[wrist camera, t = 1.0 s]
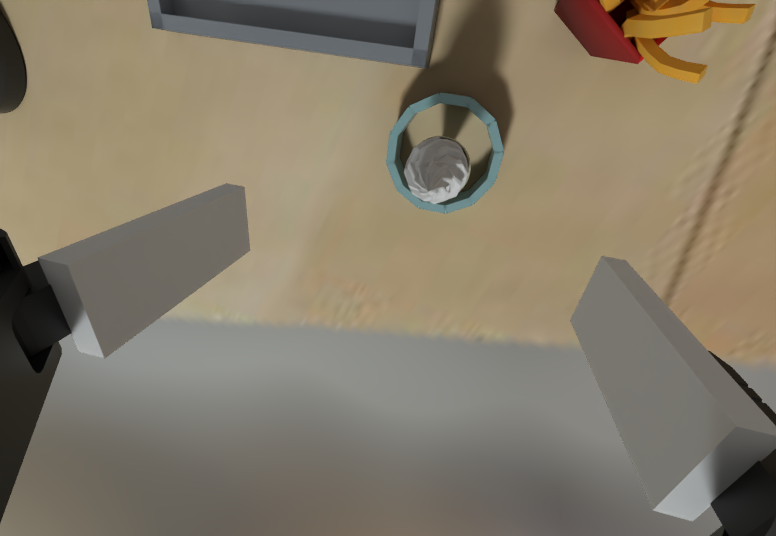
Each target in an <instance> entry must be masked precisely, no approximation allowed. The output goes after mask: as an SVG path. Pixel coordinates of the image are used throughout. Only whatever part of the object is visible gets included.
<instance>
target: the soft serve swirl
mask: <svg viewBox="0 0 776 536" xmlns="http://www.w3.org/2000/svg"><path fill="white" fill-rule="evenodd" d="M470 170H471V163H470V158H469V155H468V153H467V151H466V150H465V148H464V147H463V146H462V145H461V144H460V143H459V142H458V141H456V140H454V139H452V138H450V137H446V136H434V137H431V138H428V139H426V140H424V141H423V142H421V143H420V144H419V145H417V146H415V147H414V149H413V150H412V152H411V154H410V156H409V158H408V160H407V162H406V166H405V169H404V174H405V177H406V179H407V182H408V186H409V188H410V190H411V192H412V194H413V195H415V196H416V197H418V198H420V199H421V200H423V201H426V202H427V201H428V202H430V203H432V204H436V203H440V202H443V201H446V200H448V199H451V198H453V197H456V196H457V195H458V192H459V191H460V190H461V189H462V188H463V187H464V186H465V184H466V183H467V181H468V178H469V175H470Z"/></svg>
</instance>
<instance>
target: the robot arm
mask: <svg viewBox="0 0 776 536" xmlns="http://www.w3.org/2000/svg"><path fill="white" fill-rule="evenodd" d="M25 88H26V76H25V69H24V64H23V60H22V56H21V53H20V50H19V47H18V45H17V42H16V40H15V38H14V36H13V34H12V32H11V30H10V28H9V26H8V24H7V22H6V21H5V19H4V17H3V16H2V14H1V13H0V113H8V112H11V111H13V110H14V109H16V108H17V107H18V106H19V105H20V103H21V102H22V100H23V97H24V94H25ZM249 251H250V244H249V233H248V221H247V210H246V199H245V188H244V187H242V186H237V185H232V184H227V183H226V184H224V185H221V186H218V187H216V188H213V189H211V190H208V191H206V192H203V193H201V194H198V195H196V196H193V197H191V198H188V199H185V200H183V201H180V202H178V203H175V204H173V205H170V206H168V207H165V208H163V209H160V210H158V211H155V212H152V213H150V214H147V215H145V216H142V217H140V218H137V219H135V220H132V221H130V222H127V223H125V224H122V225H119V226H117V227H114V228H112V229H109V230H107V231H104V232H102V233H99V234H97V235H94V236H92V237H89V238H86V239H84V240H81V241H79V242H76V243H74V244H71V245H69V246H66V247H64V248H61V249H59V250H56V251H53V252H51V253H48V254H46V255H43V256H41V257H38V261H36V262H33V263H31V264H28V265H26V266H22V264H21V262H20V259H19V257H18V255H17V253H16V251H15V249H14V247H13V245H12V243H11V240H10V238H9V236H8V234H7V232H5V231H4V230H2V229H0V522H1V519H2V517H3V514H4V511H5V508H6V506H7V503H8V500H9V498H10V495H11V492H12V489H13V486H14V484H15V481H16V478H17V475H18V473H19V470H20V467H21V465H22V462H23V459H24V456H25V454H26V451H27V448H28V445H29V443H30V439H31V437H32V434H33V432H34V429H35V426H36V423H37V420H38V418H39V415H40V412H41V410H42V407H43V404H44V401H45V399H46V396H47V393H48V390H49V387H50V385H51V382H52V379H53V377H54V374H55V371H56V368H57V365H58V363H59V360H60V357H61V354H62V350H61V349H62V348H61V346H60V344H59V342H58V341H59V340H61V339H62V338H64V337H66V336H67V335H69V334H71V335H72V337H73V339H74V342H75V344H76V346H77V348H78V351H79V352H83V353H86V354H90V355H93V356H97V357H101V358H106V357H107V356H109V355H110V354H111V353H113V352H114V351H115V350H117V349H118V348H119V347H121V346H122V345H124V344H125V343H126V342H128V341H129V340H130V339H132V338H133V337H134V336H136V335H137V334H138V333H140V332H141V331H142V330H144V329H145V328H146V327H148V326H149V325H150V324H152V323H153V322H154V321H156V320H157V319H159V318H160V317H161V316H163V315H164V314H165V313H167V312H168V311H169V310H171V309H172V308H173V307H175V306H176V305H177V304H179V303H180V302H181V301H183V300H184V299H185V298H187V297H188V296H189V295H191V294H192V293H194V292H195V291H196V290H198V289H199V288H200V287H202V286H203V285H204V284H206V283H207V282H208V281H210V280H211V279H212V278H214V277H215V276H216V275H218V274H219V273H220V272H222V271H223V270H224V269H226V268H227V267H229V266H230V265H231V264H233V263H234V262H235V261H237V260H238V259H239V258H241V257H242V256H243V255H245V254H246V253H247V252H249ZM570 321H571V323H572V325H573V328H574V330H575V332H576V335H577V337H578V339H579V342H580V344H581V346H582V348H583V351H584V353H585V355H586V358H587V360H588V362H589V365H590V367H591V369H592V371H593V374H594V376H595V378H596V381H597V383H598V385H599V388H600V390H601V392H602V394H603V397H604V399H605V401H606V404H607V406H608V408H609V411H610V413H611V415H612V418H613V420H614V422H615V424H616V427H617V429H618V431H619V434H620V436H621V438H622V441H623V443H624V445H625V448H626V450H627V452H628V454H629V457H630V459H631V461H632V464H633V466H634V468H635V471H636V473H637V475H638V477H639V480H640V482H641V484H642V486H643V489H644V491H645V494H646V496H647V498H648V500H649V503H650V505H651V507H652V509H653V510H654V511H657V512H661V513H664V514H668V515H672V516H675V517H679V518H683V519H686V520H690V521H694V520H695V519H696V518H697V517H698V516H699V515H700V514H702V513H703V512H704V511H705V510H706V509H707V508H708V507H710V506H712V508H713V509H714V511H715V513H716V514H717V516H718V518H719V520H720V521H721V523H722V526H721V527H720V528H719V529H717V530H716V531H715V532H714V533H712V534H711V535H710V536H776V414H775V413H774V412H773V411H772V409H770V407H769V406H768V405H767V404H766V403H762V399H761V398H760V397H759V396H758V395H757V394H756V393H755V391H754V390H753V389H752V388H748V384H747V383H746V382H745V381H744V380H743V379H742V378H741V376H740V375H739V374H738V373H737V372H736V371H735V370H734V369H733V368H732V367H731V366H729V365H728V364H727V363H725V362H724V361H722V360H721V359H720V358H718V357H717V356H716V355H714V354H713V353H712V352H710V351H707V350H706V348H705V347H704V346H703V345H702V344H701V343H700V342H699V341H698V340H697V338H696V337H695V336H694V335H693V334H692V333H691V332H690V331H689V330H688V329H687V327H686V326H685V325H684V324H683V323H682V322H681V321H680V320H679V319H678V318H677V316H676V315H675V314H674V313H673V312H672V311H671V310H670V309H669V308H668V306H667V305H666V304H665V303H664V302H663V301H662V300H661V299H660V298H659V297H658V295H657V294H656V293H655V292H654V291H653V290H652V289H651V288H650V287H649V286H648V284H647V283H646V282H645V281H644V280H643V279H642V278H641V277H640V276H639V274H638V273H637V272H636V271H635V270H634V269H633V268H632V267H631V266H630V265H629V263H628V262H627V261H626V260H621V259H616V258H610V257H605V256H601V259H600V261H599V263H598V265H597V267H596V269H595V271H594V273H593V275H592V277H591V279H590V281H589V283H588V285H587V287H586V289H585V291H584V293H583V295H582V297H581V299H580V301H579V303H578V305H577V307H576V309H575V311H574V314H573V316H572V318H571V320H570Z"/></svg>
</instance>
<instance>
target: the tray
mask: <svg viewBox="0 0 776 536" xmlns="http://www.w3.org/2000/svg"><path fill="white" fill-rule="evenodd" d="M147 1H148V7H149V13H150V18H151V24H152V28H156V29H161V30H167V31H172V32H178V33H185V34H192V35H199V36H205V37H212V38H219V39H226V40H233V41H240V42H247V43H254V44H261V45H267V46H274V47H281V48H288V49H295V50H302V51H309V52H316V53H323V54H330V55H336V56H343V57H350V58H357V59H364V60H371V61H378V62H385V63H392V64H398V65H405V66H412V67H419V68H426V69H428V68H429V62H430V56H431V50H432V44H433V37H434V31H435V25H436V19H437V13H438V7H439V0H147Z"/></svg>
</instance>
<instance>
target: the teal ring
mask: <svg viewBox="0 0 776 536" xmlns="http://www.w3.org/2000/svg"><path fill="white" fill-rule="evenodd" d="M438 103H443V104H450V105H456V106H462V107H467V108H468V109H470V110H471V111H472V112H473V113H474V114H475V115H476V116H477V117H478V118H479V119H480V120H482V121H483V122H484V123H485V124H486V125H487V129H488V133H489V137H490V140H491V144H492V151H491V155H490V158H489V162H488V166H487V169H486V172H485V173H484V174H483V176H482V177H481V178H480V179H479V180H478V181H477V182H476V183H475V184H474V185H473V186H472V187H471V188H470V189H469V190H467V191H464V192H461V193H458V195H457V196H456V197H453V198H451V199H448V200H446V201H443V202H440V203H436V204H432V203H430V202H428V201H427V202H426V201H423V200H421V199H420V198H418V197H416V196H415V195H413V194H412V192H411V190H410V188H409V186H408V182H407V179H406V177H405V174H404V167H403V164H402V162H401V159H400V151H401V144H402V137H403V132H404V131H405V129H406V128H407V127H408V125H409V124H410V123H411V121H412V120H413V118H414V117H415V116H416V114H417V113H418V112H420V111H422V110H425V109H427V108H429V107H432V106H434V105H436V104H438ZM390 132H391V133H390V135H389V143H388V151H387V159H386V162H387V167H388V169H389V172H390V175H391V177H392V180H393V182H394V185H395V187H396V190H397V189H398V190H397V191H398V192H399V193H400V194H402V195H403V196H404V197H405V198H406V199H408V200H409V201H410V202H411V203H412V204H414V205H415V206H416V207H417V208H418V207H419V209H425V210H430V211H435V212H440V213H445V211H446V213H449V212H452V211H455V210H459V209H462V208H465V207H468V206H471V205H473V204H475V203H476V202H477V201H478V200H479V199H480V198H481V197H482V196H483V195H484V194H485V193H486V192H487V191H488V190H489V189H490V188H491V186H492V185H493V184H494V182H496V178H497V175H498V171H499V168H500V164H501V161H502V157H503V154H504V152H503V151H504V149H503V145H502V141H501V138H500V134H499V130H498V126H497V122H496V120H495V118H494V117H493V116H492V115H491V114H490V113H489V112H488V111H487V110H486V109H484V108H483V107H482V106H481V105H480V104H479V103H478V102H477V101H476V100H475V99H474V98H473V97H472V98H471V96H465V95H458V94H452V93H445V92H440V93H437V94H434V95H432V96H430V97H428V98H425V99H423V100H421V101H419V102H417V103H414V104H412V105H410V106H409V107H408V108H407V109H406V111H405V112H404V113H403V115H402V116H401V118H400V119H399V120H398V122H397V123H396V125H395V126H394V127H393V129H392V130H391V131H390Z"/></svg>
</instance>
